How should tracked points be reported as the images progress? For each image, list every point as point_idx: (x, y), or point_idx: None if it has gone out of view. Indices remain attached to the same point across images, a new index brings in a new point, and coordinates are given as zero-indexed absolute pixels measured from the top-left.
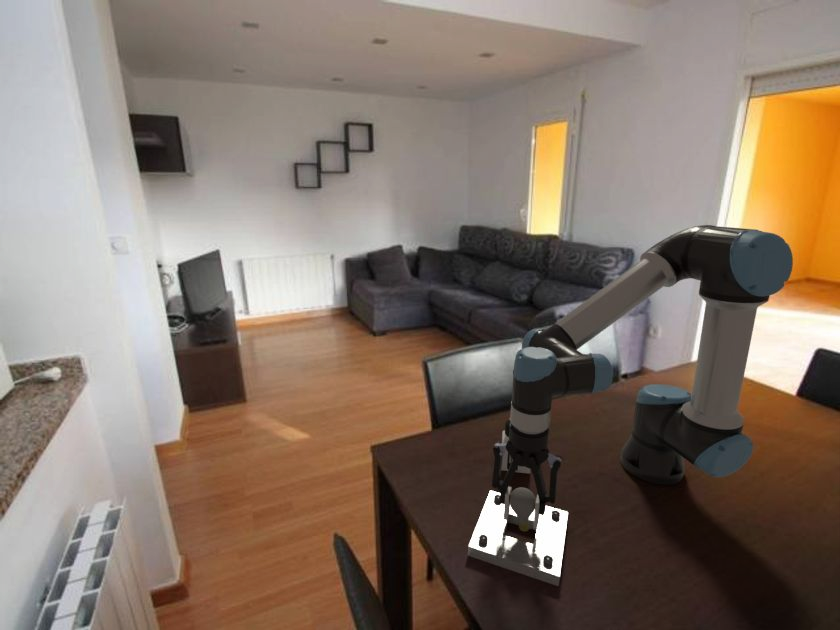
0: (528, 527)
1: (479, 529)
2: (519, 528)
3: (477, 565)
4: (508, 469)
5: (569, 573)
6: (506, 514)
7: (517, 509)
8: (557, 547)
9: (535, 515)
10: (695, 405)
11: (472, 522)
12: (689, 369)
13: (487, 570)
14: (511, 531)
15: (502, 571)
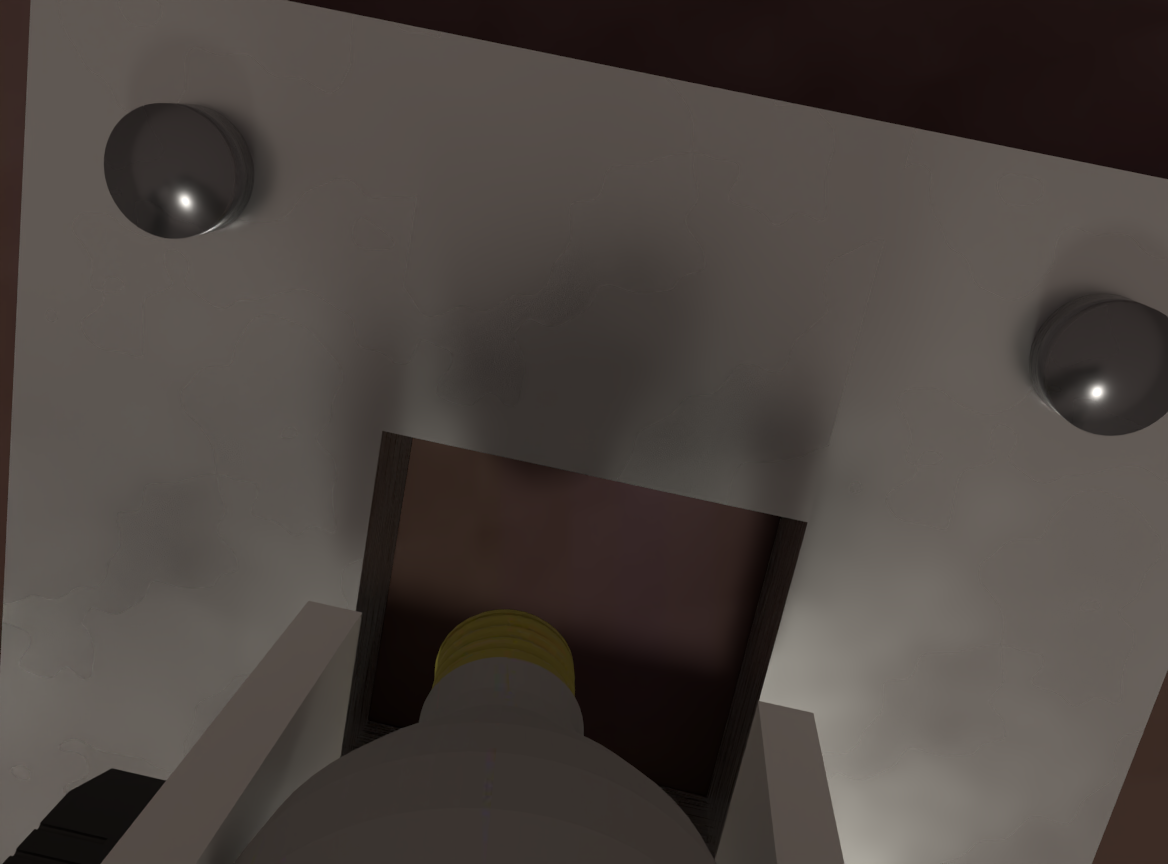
0: (441, 659)
1: (1143, 558)
2: (568, 648)
3: (1125, 69)
4: None
5: (10, 192)
6: (780, 769)
7: (586, 789)
8: (83, 434)
9: (249, 745)
10: None
11: (1161, 735)
12: None
13: (990, 17)
14: (669, 671)
15: (792, 45)
